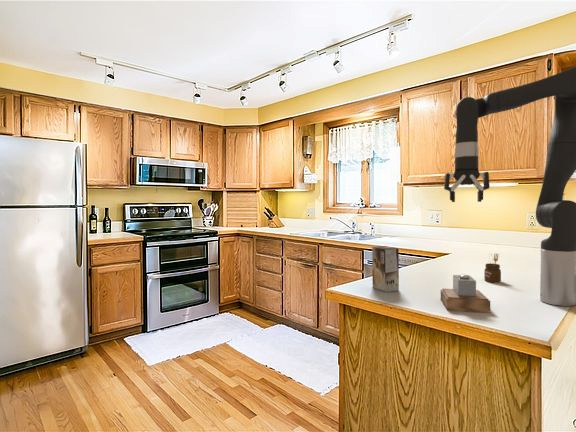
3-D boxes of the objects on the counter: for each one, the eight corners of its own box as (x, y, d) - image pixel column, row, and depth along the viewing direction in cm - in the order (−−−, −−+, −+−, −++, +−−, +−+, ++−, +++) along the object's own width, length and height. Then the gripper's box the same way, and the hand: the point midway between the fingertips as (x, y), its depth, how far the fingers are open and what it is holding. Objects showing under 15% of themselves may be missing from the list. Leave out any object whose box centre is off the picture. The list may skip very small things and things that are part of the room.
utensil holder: (496, 279, 149) (496, 251, 149) (504, 283, 143) (504, 253, 142) (481, 279, 150) (481, 251, 149) (488, 283, 143) (488, 253, 143)
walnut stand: (479, 301, 118) (479, 289, 117) (490, 312, 106) (490, 299, 106) (440, 299, 121) (440, 288, 120) (446, 310, 109) (447, 297, 109)
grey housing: (475, 297, 109) (476, 278, 108) (458, 296, 110) (458, 277, 110) (469, 290, 116) (469, 273, 116) (452, 290, 118) (453, 272, 117)
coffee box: (399, 290, 134) (399, 248, 133) (385, 292, 131) (385, 249, 131) (385, 285, 142) (384, 245, 142) (371, 287, 140) (371, 246, 139)
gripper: (446, 155, 124) (446, 202, 125) (492, 153, 120) (491, 201, 121) (443, 158, 131) (442, 202, 132) (485, 156, 128) (485, 201, 128)
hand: (466, 201), depth 126 cm, fingers open, 8 cm apart
